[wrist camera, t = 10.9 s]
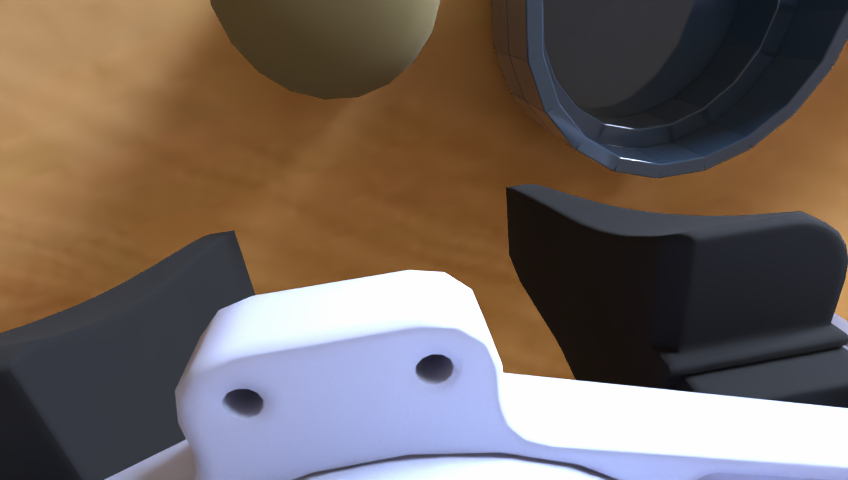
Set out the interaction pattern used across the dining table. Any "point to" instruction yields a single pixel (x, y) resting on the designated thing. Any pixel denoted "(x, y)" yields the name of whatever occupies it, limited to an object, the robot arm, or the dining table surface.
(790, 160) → the dining table surface
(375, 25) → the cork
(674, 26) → the blue bowl
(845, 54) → the dining table surface
